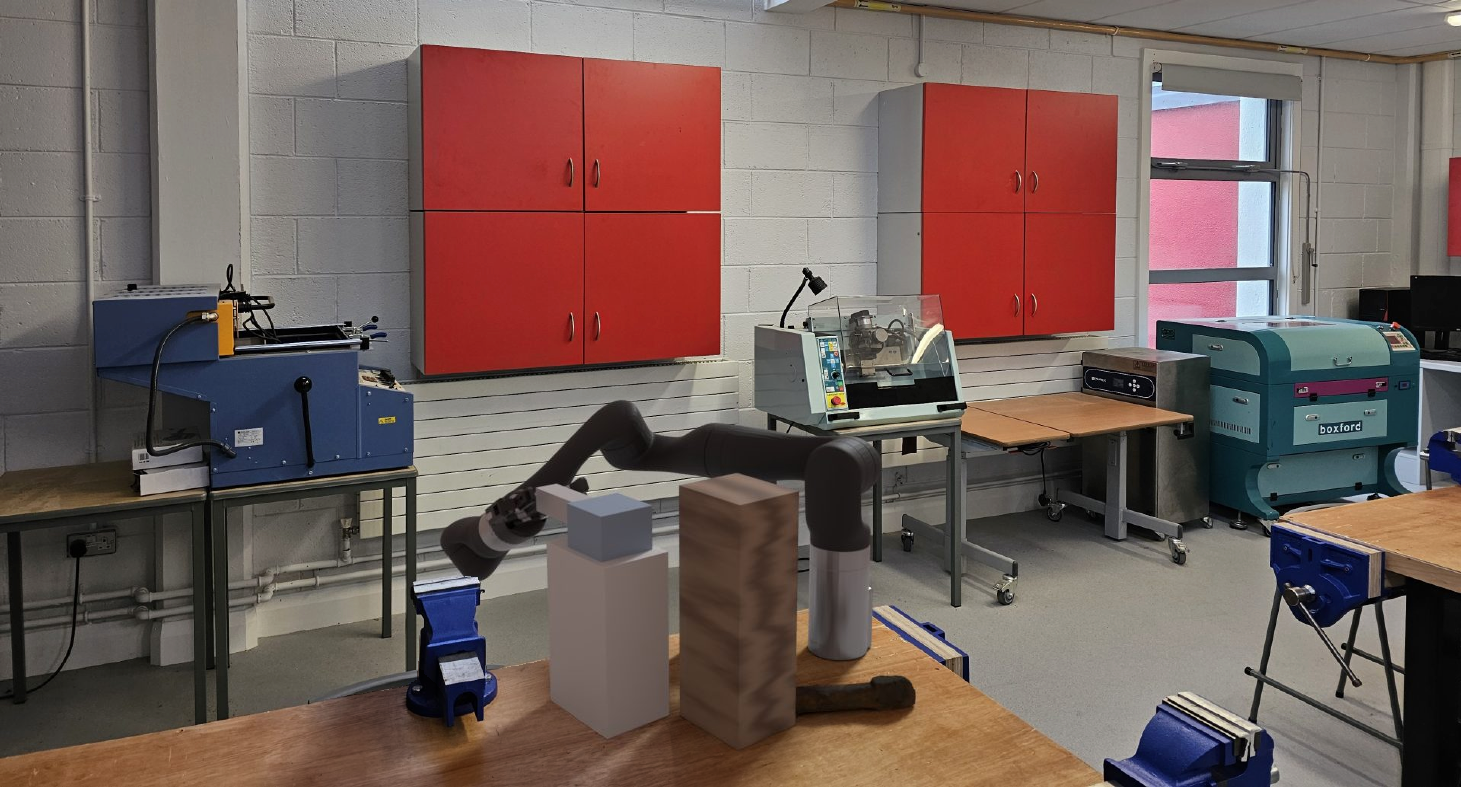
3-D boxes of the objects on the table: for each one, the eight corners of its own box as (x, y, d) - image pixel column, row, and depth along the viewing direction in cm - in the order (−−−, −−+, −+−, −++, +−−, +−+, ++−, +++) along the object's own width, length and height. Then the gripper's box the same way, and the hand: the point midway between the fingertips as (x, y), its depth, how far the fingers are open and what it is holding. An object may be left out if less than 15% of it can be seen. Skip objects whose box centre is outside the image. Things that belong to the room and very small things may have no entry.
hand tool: (781, 722, 136) (781, 689, 135) (777, 707, 140) (777, 676, 139) (919, 717, 137) (921, 685, 136) (912, 703, 141) (913, 672, 140)
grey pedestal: (610, 679, 147) (608, 526, 143) (669, 714, 137) (668, 551, 133) (550, 700, 141) (546, 541, 137) (607, 739, 130) (604, 568, 126)
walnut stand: (735, 693, 143) (736, 473, 138) (795, 725, 134) (799, 491, 129) (679, 715, 137) (678, 485, 131) (738, 750, 128) (740, 505, 122)
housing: (571, 515, 149) (570, 475, 148) (652, 549, 134) (652, 505, 133) (522, 526, 143) (521, 485, 142) (601, 562, 128) (600, 516, 127)
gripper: (462, 506, 151) (506, 471, 139) (545, 489, 160) (594, 456, 148) (475, 554, 149) (521, 523, 137) (559, 535, 158) (609, 504, 146)
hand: (559, 488), depth 142 cm, fingers open, 8 cm apart
